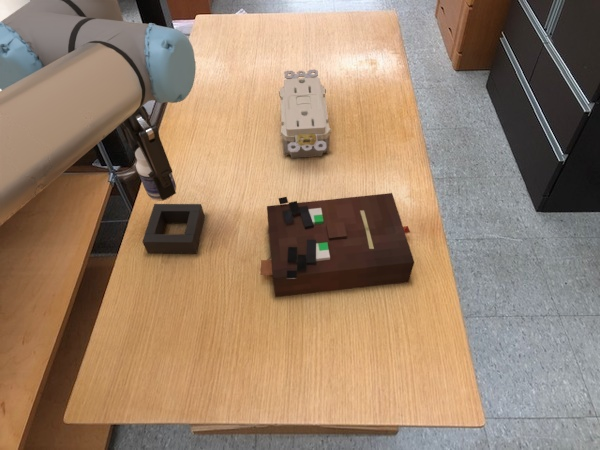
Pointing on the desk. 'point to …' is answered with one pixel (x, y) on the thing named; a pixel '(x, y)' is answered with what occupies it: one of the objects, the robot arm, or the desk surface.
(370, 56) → the desk surface
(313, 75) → the electrical outlet
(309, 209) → the decorative book
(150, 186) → the pill bottle
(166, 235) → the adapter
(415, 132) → the desk surface
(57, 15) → the robot arm
